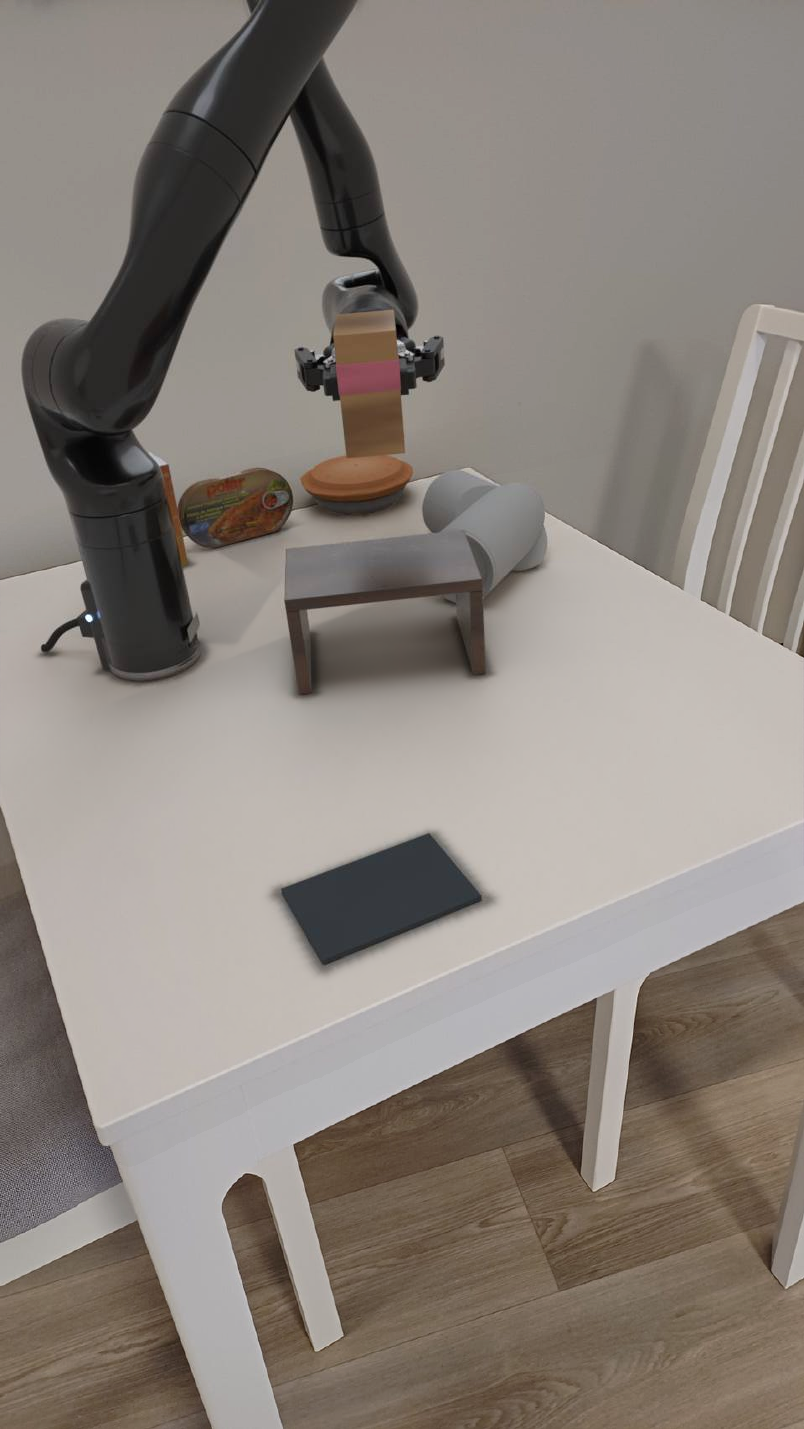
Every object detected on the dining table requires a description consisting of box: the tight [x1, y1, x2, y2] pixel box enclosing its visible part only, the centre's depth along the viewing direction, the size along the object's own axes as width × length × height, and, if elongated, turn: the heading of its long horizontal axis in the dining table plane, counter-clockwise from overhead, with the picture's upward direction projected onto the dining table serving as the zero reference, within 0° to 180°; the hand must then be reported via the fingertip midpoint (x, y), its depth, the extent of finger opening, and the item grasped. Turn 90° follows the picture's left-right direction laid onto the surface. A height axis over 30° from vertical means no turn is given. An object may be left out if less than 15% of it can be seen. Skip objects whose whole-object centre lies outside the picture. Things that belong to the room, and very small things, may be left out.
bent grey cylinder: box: [421, 469, 548, 604], centre depth 113 cm, size 18×11×20 cm
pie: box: [300, 455, 414, 515], centre depth 136 cm, size 16×16×5 cm
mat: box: [280, 832, 483, 965], centre depth 70 cm, size 12×8×1 cm, turn 116°
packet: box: [333, 310, 406, 458], centre depth 85 cm, size 8×5×10 cm, turn 2°
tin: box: [177, 467, 294, 549], centre depth 127 cm, size 15×3×8 cm, turn 117°
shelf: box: [283, 530, 487, 695], centre depth 97 cm, size 12×18×10 cm, turn 95°
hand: (370, 385), depth 82 cm, fingers closed on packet, 5 cm apart
